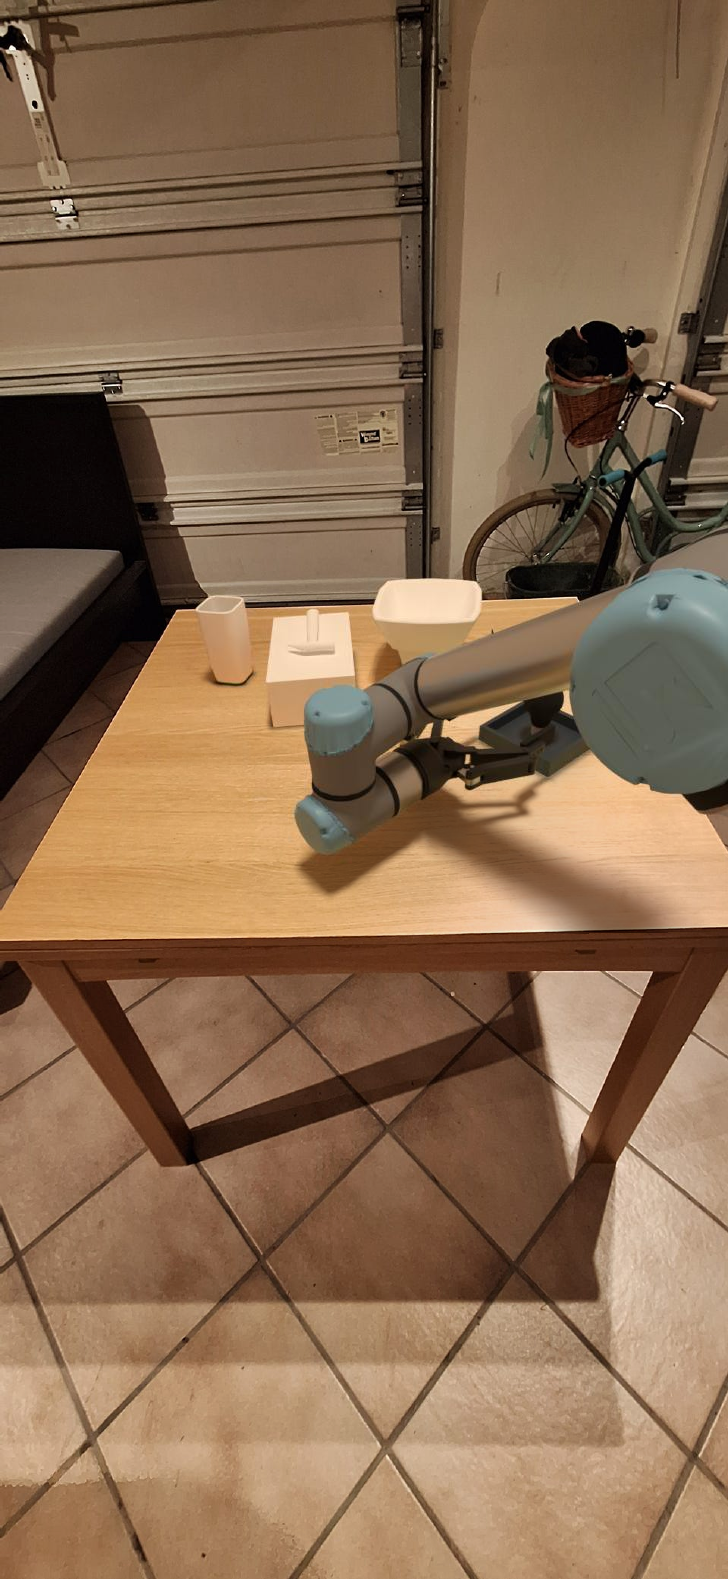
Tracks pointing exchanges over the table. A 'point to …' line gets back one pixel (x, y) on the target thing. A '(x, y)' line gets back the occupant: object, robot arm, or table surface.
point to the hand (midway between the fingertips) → (513, 713)
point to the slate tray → (517, 728)
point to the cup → (226, 637)
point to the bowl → (426, 614)
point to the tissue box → (306, 662)
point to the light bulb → (543, 709)
